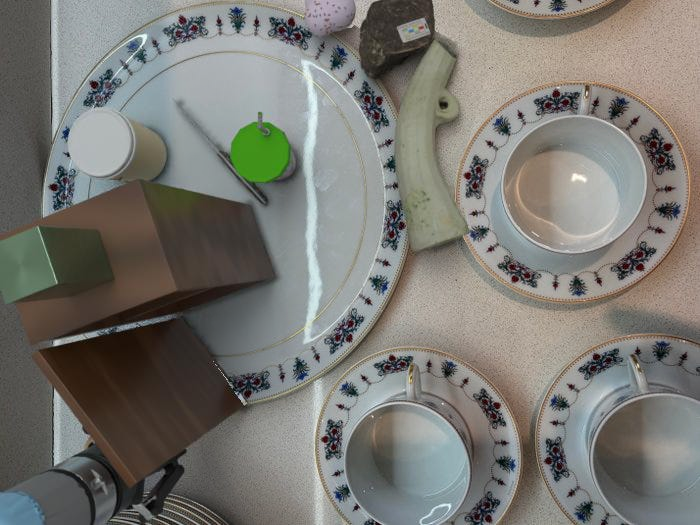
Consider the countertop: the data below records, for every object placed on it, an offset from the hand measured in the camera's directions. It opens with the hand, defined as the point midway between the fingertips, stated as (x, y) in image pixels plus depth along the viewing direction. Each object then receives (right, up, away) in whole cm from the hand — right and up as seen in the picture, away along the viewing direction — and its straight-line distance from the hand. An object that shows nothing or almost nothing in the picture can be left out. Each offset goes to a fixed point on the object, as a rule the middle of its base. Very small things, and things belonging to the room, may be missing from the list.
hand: (182, 430), depth 90 cm
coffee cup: (-8, +38, +8) cm, 40 cm away
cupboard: (+3, +23, +6) cm, 24 cm away
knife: (+4, +39, +6) cm, 39 cm away
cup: (+13, +37, +4) cm, 39 cm away
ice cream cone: (+24, +67, +2) cm, 71 cm away
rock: (+24, +55, -2) cm, 59 cm away
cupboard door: (0, +6, +7) cm, 9 cm away
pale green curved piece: (+28, +38, -3) cm, 47 cm away
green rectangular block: (-3, +23, -27) cm, 36 cm away
